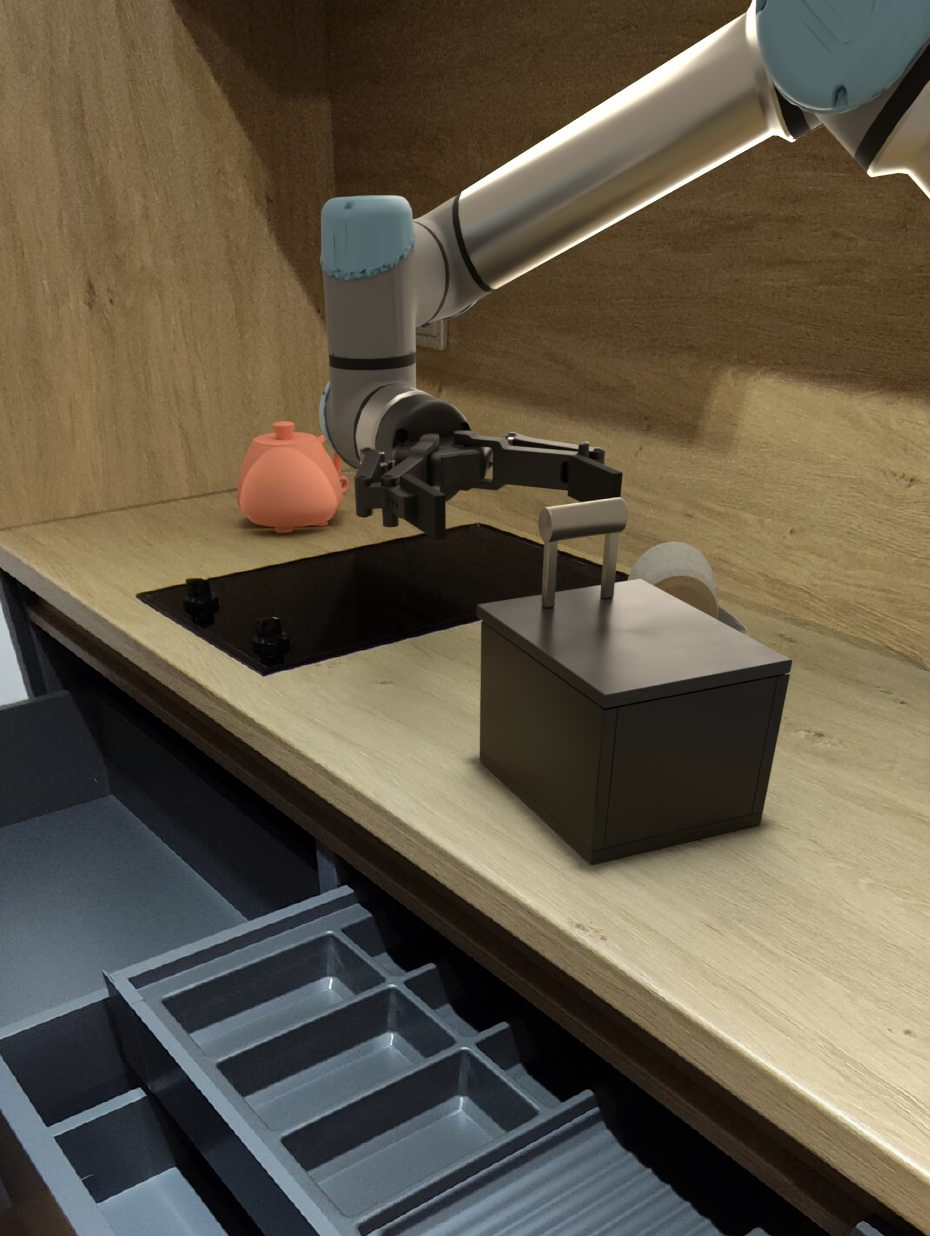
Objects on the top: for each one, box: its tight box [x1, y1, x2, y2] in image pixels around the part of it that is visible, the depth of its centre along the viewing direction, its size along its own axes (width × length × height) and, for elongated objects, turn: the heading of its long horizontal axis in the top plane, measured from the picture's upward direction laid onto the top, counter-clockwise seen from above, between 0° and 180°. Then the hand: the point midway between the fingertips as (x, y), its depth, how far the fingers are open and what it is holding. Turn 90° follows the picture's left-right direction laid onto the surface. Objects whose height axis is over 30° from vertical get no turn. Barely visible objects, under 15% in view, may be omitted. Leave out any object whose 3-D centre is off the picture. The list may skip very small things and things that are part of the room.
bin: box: [479, 620, 791, 866], centre depth 74 cm, size 17×13×10 cm
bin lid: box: [476, 497, 793, 708], centre depth 69 cm, size 18×13×7 cm
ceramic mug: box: [626, 541, 750, 637], centre depth 95 cm, size 11×8×8 cm
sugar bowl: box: [236, 420, 350, 534], centre depth 128 cm, size 12×14×10 cm
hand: (530, 505), depth 77 cm, fingers open, 13 cm apart
